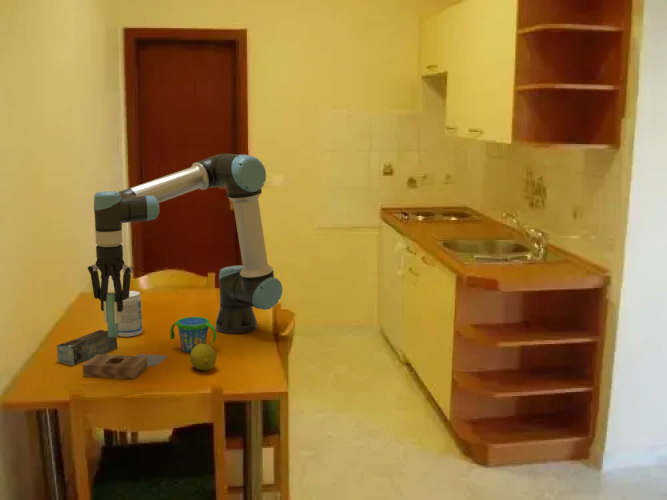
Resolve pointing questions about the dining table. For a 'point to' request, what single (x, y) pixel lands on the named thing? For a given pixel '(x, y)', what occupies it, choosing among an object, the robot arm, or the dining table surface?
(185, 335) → the snack cup
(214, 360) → the lemon
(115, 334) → the peg
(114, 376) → the block
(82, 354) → the beverage carton
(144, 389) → the dining table surface
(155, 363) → the mat
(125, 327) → the supplement tub
